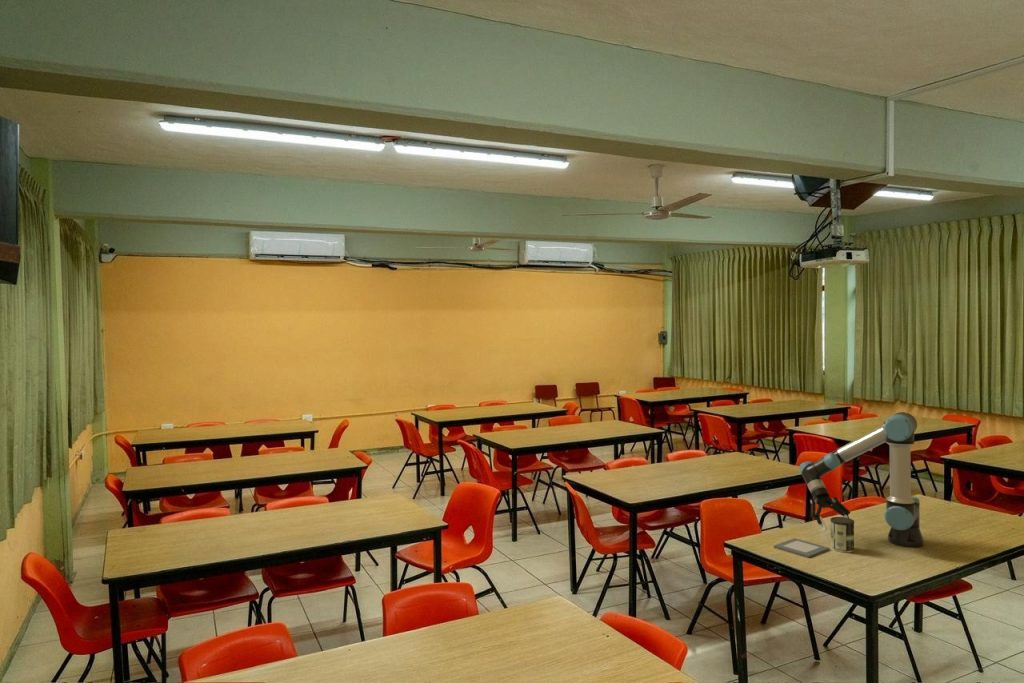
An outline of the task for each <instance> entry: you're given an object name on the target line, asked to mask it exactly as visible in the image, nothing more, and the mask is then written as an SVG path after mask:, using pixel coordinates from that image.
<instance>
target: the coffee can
mask: <svg viewBox="0 0 1024 683" xmlns="http://www.w3.org/2000/svg"><path fill="white" fill-rule="evenodd" d="M849 518H850V517H849ZM849 518H845V517H843V516H834V517H831V518H830V550H831V549H832V551H836V552H840V553H853V552H854V551H855V520H854V519H852V518H850V519H849Z"/></svg>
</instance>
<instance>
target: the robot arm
mask: <svg viewBox="0 0 1024 683" xmlns="http://www.w3.org/2000/svg"><path fill="white" fill-rule="evenodd" d="M917 427H918V422H917V419H916V418H915V417H914V416H913V415H912V414H910V413H908V412H904V411H902V412H896V413H894V414H893V415H890V416H889V417H888V418H887V419H886V420H885V421H884V422H883V423H882V425H880V426H879V427H876V428H875V429H873V430H871V431H869V432H867V433H865V434H863V435H862V436H860V437H858V438H855V439H854V440H852V441H850V442H848V443H846V444H845V445H843V446H841V447H838V448H837V449H835V450H833V451H831V452H829V453H827V454H825V455H824V456H822V457H821V458H819V459H817V460H816V461H814V462H813V461H810V460H807V461H804V462H802V463H801V464H800V465H799V467H798V468H799V469H798V470H799V471H800V473H801V476H802V478H803V480H804V482H805V483H806V485H807V488H808V490H809V491H810V492H809V493H811V496H812V498H811V499H810V500H809V504H810V518H811V519H814V520H815V521H816V522H817V524H818V525H819V526H820V528H821V529H822V531H823V532H826V531H827V530H828V527H827V525H826V523H825V521H824V519H823V517H822V516H820V515H821V512H822V509H828V508H829V509H832V510H833V511H835V512H836V513H838V514H839V515H840V516H841V517H845V518H849V519H851V518H850V516H849V515H850V514H851V511H850V510H849V509H848V508H847V507H846V506H845V505H843V503H842V502H841V501H839V500H838V498H837V497H836V496H834V497H833V498H831V497H830V493H829V490H827V488H826V485H825V483H824V481H823V480H822V478H821V477H823V476H825V475H826V474H829V473H830V472H832V471H833V470H836V469H838V468H839V467H840V466H841V465H844V464H845V463H847V462H849V461H851V460H853V459H855V458H857V457H860V455H863V454H864V453H867V452H868V451H871V450H873V449H874V448H876V447H879V446H881V445H883V444H885V443H886V444H888V445H889V446H888V447H889V496H887V497H886V500H885V501H886V504H885V505H886V509H885V511H884V520H885V521H886V522H885V523H886V524H887V525H889V527H890V528H889V531H888V534H887V541H888V542H889V543H891V544H894V545H897V546H901V547H907V548H919V547H923V546H924V543H925V542H924V540H925V539H924V537H923V535H922V532H921V529H920V505H921V503H920V499H919V498H918V497H917V496H913V495H912V490H911V488H912V484H911V483H912V482H911V481H912V480H911V479H912V477H911V476H912V474H911V473H912V472H911V470H912V468H911V465H912V464H911V459H912V458H911V448H912V447H913V445H914V444H915V432H916V430H917V429H918V428H917ZM816 504H817V509H816Z"/></svg>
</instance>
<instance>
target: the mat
mask: <svg viewBox="0 0 1024 683" xmlns="http://www.w3.org/2000/svg"><path fill="white" fill-rule="evenodd" d="M773 548H774V549H776V548H777V549H776V550H780V551H782V552H786V551H787V553H790V554H793V553H794V554H793V555H797V556H801V557H804V558H807V559H810V558H812V557H815V556H818V555H820V554H823V553H825V552H827V551H829V550H831V547H828V546H824V545H821V544H817V543H814V542H810V541H808V540H807V541H806V540H803V539H799V538H795V537H793V538H791V539H789V540H786V541H783V542H780V543H777V544H775V545H773Z"/></svg>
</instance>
